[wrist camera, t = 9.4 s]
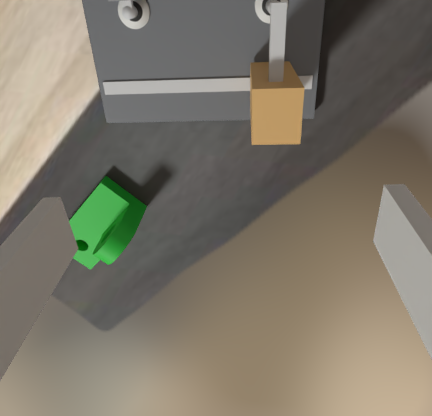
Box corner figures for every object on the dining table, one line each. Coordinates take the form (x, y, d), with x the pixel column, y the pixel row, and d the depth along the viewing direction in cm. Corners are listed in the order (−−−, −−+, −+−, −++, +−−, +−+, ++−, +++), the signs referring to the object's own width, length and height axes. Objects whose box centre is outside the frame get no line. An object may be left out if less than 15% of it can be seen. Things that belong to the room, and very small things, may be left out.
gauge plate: (83, -26, 33) (66, -27, 30) (325, -39, 31) (334, -42, 28) (111, 118, 39) (100, 129, 36) (311, 113, 38) (317, 125, 35)
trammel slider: (250, -1, 31) (252, 5, 22) (292, -3, 31) (311, 2, 22) (250, 106, 36) (251, 144, 27) (286, 105, 35) (300, 143, 27)
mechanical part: (106, 174, 43) (80, 210, 36) (147, 205, 45) (130, 245, 38) (57, 234, 48) (26, 275, 41) (95, 259, 50) (72, 303, 43)
